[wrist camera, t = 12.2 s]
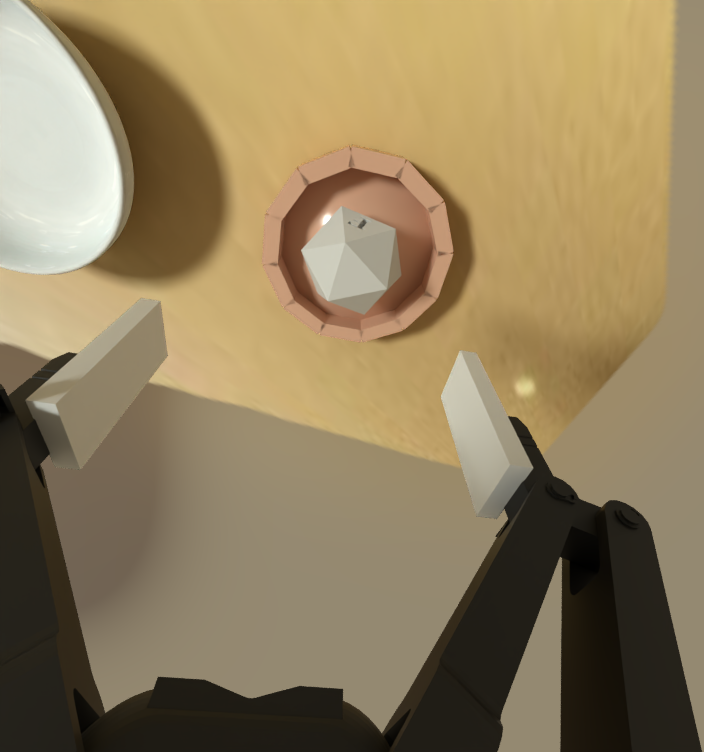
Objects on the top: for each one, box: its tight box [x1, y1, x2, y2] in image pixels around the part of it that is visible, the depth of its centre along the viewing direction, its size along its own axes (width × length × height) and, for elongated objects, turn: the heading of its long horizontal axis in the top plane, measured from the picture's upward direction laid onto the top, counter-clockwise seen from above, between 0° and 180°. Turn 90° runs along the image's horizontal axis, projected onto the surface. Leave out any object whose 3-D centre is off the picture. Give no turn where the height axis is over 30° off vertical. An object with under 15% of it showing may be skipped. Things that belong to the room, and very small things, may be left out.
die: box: [301, 206, 401, 315], centre depth 34 cm, size 8×9×10 cm
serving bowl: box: [0, 0, 134, 275], centre depth 30 cm, size 21×21×7 cm
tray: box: [262, 145, 454, 342], centre depth 37 cm, size 18×18×4 cm
